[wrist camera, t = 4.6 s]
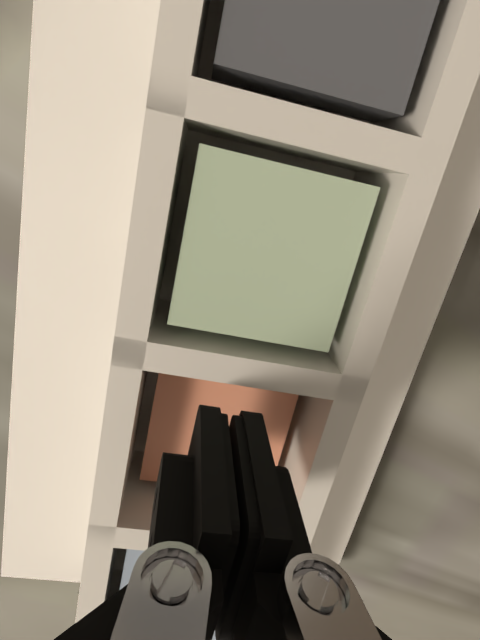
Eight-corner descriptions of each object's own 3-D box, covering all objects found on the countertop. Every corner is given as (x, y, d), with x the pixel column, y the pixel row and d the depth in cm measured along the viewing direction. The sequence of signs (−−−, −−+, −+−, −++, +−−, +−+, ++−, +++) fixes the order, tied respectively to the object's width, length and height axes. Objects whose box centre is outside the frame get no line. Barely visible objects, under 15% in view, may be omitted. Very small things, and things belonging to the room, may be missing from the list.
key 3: (165, 336, 14) (161, 359, 13) (291, 358, 15) (302, 382, 13) (145, 445, 16) (139, 479, 14) (261, 460, 16) (268, 494, 15)
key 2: (199, 145, 11) (199, 143, 10) (355, 183, 12) (380, 187, 10) (171, 302, 13) (166, 323, 11) (311, 328, 13) (328, 352, 12)
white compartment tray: (72, -183, 11) (-36, -478, 6) (530, -23, 14) (738, -140, 8) (20, 536, 19) (-47, 675, 14) (313, 563, 22) (350, 692, 16)
